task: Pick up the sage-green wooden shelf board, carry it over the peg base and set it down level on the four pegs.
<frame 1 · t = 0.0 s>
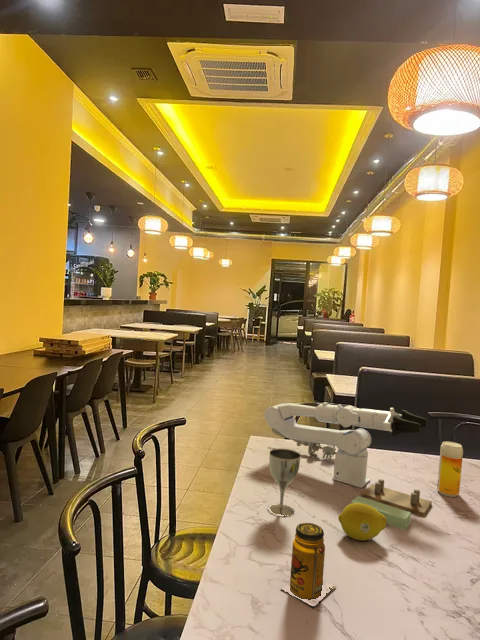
hand: (423, 425, 126), 22 cm above the table, fingers open, 7 cm apart
peg base: (396, 500, 126), on the table
lemon: (360, 539, 104), on the table
beer can: (447, 493, 134), on the table
wine glass: (280, 511, 116), on the table
shelf board: (379, 518, 116), on the table
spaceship: (312, 455, 160), on the table
condiment: (308, 589, 84), on the table
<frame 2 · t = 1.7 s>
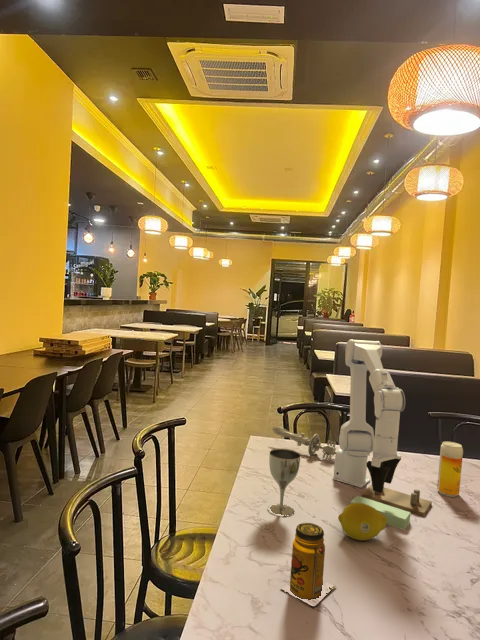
hand: (382, 486, 115), 8 cm above the table, fingers open, 7 cm apart
nothing on the table moved.
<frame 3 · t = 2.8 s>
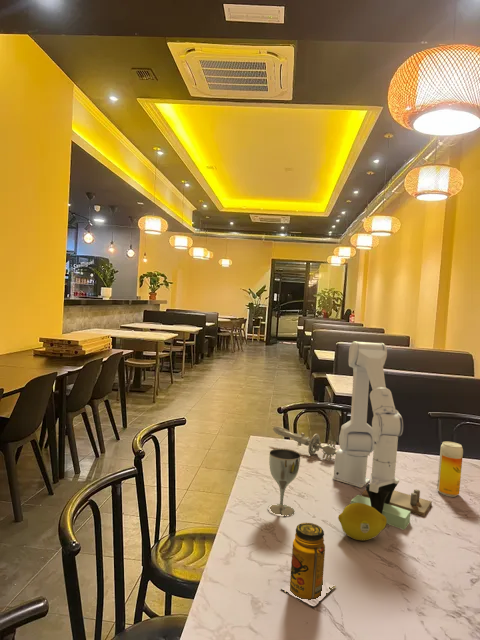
hand: (380, 510, 116), 2 cm above the table, fingers closed on shelf board, 5 cm apart
shelf board: (379, 517, 116), on the table, touching gripper
everything else where it was.
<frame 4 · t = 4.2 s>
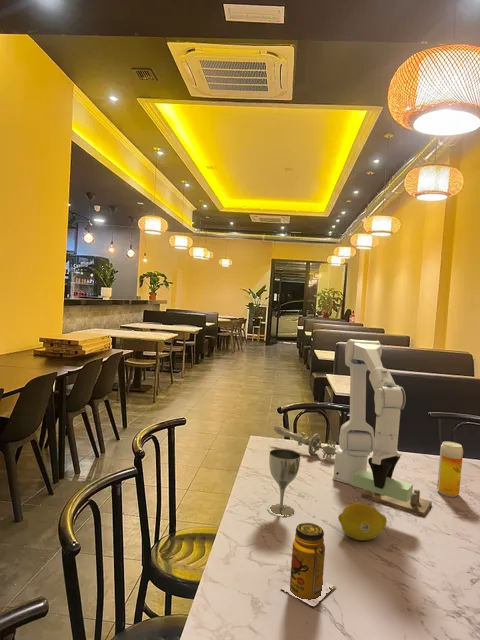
hand: (382, 484, 115), 9 cm above the table, fingers closed on shelf board, 5 cm apart
shelf board: (381, 490, 115), point 7 cm above the table, touching gripper
everything else where it was.
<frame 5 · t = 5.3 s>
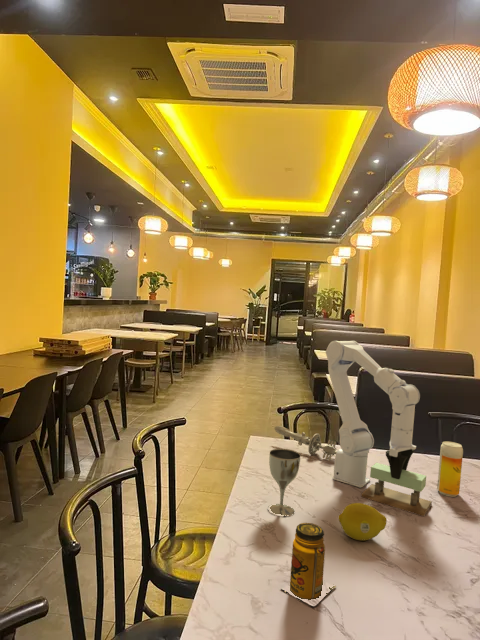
hand: (398, 475, 126), 7 cm above the table, fingers closed on shelf board, 5 cm apart
shelf board: (397, 481, 126), point 6 cm above the table, touching gripper
when the fingers open (7 cm above the table, at t = 5.9 s): shelf board stays where it is, resting on peg base.
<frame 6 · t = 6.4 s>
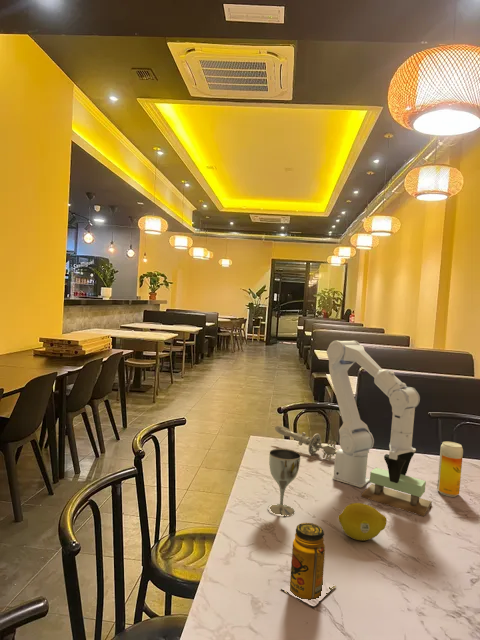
hand: (398, 477, 126), 7 cm above the table, fingers open, 7 cm apart
shelf board: (396, 486, 126), point 4 cm above the table, touching peg base
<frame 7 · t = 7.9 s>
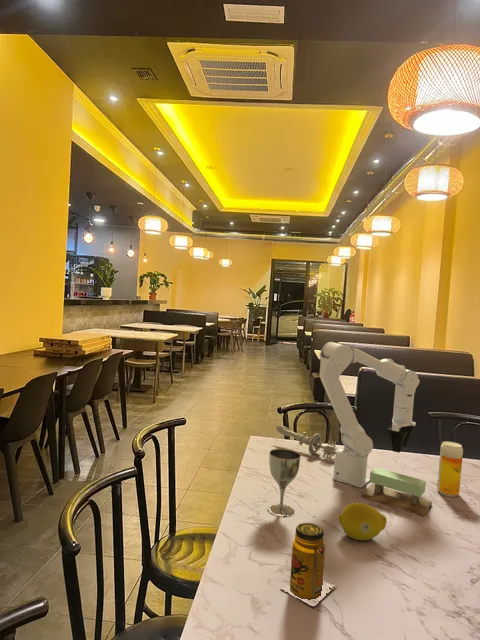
hand: (400, 448, 141), 10 cm above the table, fingers open, 7 cm apart
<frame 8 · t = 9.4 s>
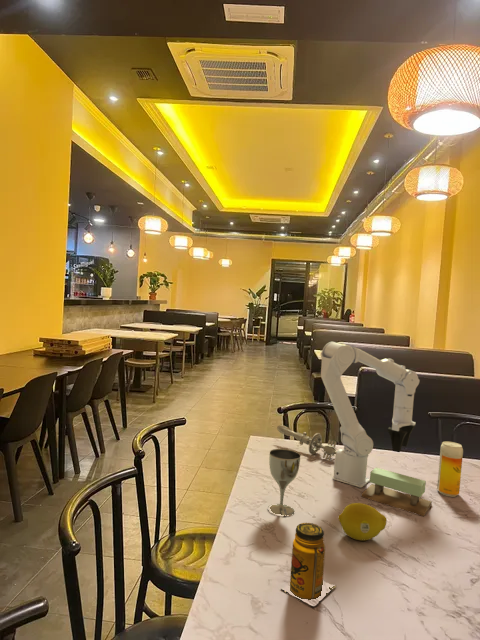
hand: (399, 448, 142), 10 cm above the table, fingers open, 7 cm apart
at the end: shelf board 0.1 cm off-centre on the peg base, point 4.0 cm above the peg base's base; shelf board tilted 0°; the gripper is holding nothing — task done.
